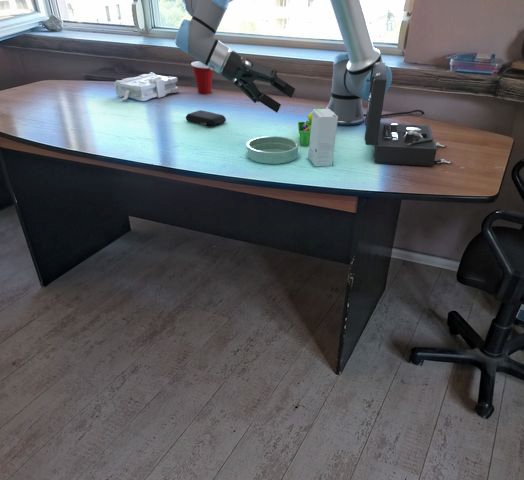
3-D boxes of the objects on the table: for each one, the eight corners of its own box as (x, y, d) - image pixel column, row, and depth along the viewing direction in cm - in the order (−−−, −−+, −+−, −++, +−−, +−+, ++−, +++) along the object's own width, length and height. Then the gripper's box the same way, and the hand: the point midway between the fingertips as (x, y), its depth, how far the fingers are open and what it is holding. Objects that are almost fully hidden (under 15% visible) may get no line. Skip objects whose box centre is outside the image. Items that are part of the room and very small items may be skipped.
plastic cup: (207, 96, 218) (205, 66, 210) (188, 93, 222) (186, 63, 215) (221, 91, 225) (220, 62, 217) (202, 88, 229) (201, 60, 222)
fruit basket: (297, 136, 174) (298, 102, 166) (321, 136, 174) (324, 102, 166) (297, 146, 165) (299, 111, 158) (323, 147, 165) (326, 111, 158)
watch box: (451, 168, 150) (474, 80, 134) (360, 162, 153) (372, 76, 137) (442, 142, 169) (461, 62, 153) (362, 138, 173) (372, 59, 157)
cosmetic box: (307, 158, 156) (310, 108, 147) (325, 157, 157) (329, 107, 148) (315, 167, 150) (319, 116, 140) (333, 166, 151) (338, 115, 141)
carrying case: (181, 122, 186) (209, 129, 180) (180, 114, 184) (209, 121, 178) (200, 116, 193) (228, 123, 186) (199, 108, 191) (228, 114, 184)
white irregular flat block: (106, 98, 215) (102, 79, 210) (151, 87, 232) (149, 68, 227) (136, 105, 206) (132, 85, 201) (181, 92, 224) (179, 74, 219)
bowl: (299, 149, 163) (300, 137, 161) (294, 166, 151) (295, 154, 148) (251, 146, 165) (251, 135, 162) (242, 163, 152) (242, 151, 150)
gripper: (213, 89, 156) (269, 124, 163) (229, 55, 132) (294, 98, 139) (222, 68, 156) (278, 104, 163) (240, 30, 132) (305, 74, 139)
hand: (285, 101), depth 151 cm, fingers open, 13 cm apart
